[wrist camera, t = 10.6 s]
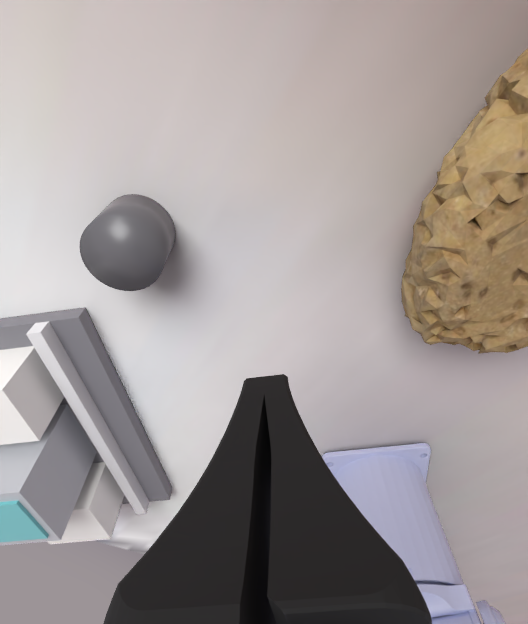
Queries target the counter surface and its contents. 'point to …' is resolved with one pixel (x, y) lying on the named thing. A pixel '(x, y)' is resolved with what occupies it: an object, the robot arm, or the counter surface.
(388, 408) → the counter surface
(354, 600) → the robot arm
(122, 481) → the rail board
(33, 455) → the module
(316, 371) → the counter surface
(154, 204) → the knob
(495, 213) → the sponge
